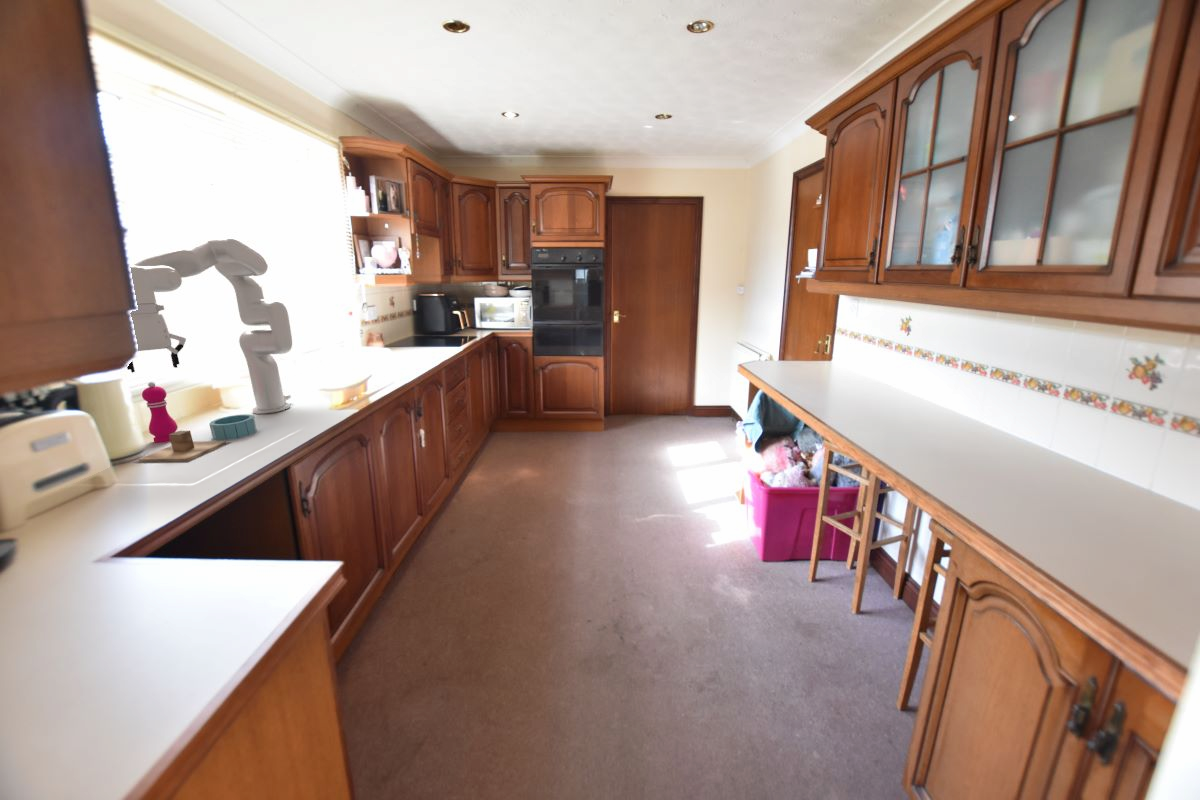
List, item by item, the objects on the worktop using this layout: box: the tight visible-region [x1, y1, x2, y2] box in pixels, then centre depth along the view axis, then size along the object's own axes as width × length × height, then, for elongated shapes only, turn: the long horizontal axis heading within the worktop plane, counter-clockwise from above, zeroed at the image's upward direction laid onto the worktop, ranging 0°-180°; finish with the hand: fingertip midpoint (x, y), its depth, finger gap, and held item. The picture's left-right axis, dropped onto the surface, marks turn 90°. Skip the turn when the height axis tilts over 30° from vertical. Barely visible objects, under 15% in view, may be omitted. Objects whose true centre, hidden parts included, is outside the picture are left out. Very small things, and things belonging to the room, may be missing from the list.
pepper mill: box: [141, 381, 179, 444], centre depth 168 cm, size 7×7×20 cm
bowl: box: [209, 413, 258, 441], centre depth 174 cm, size 12×12×6 cm
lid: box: [137, 430, 227, 462], centre depth 157 cm, size 15×15×6 cm
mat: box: [133, 441, 232, 464], centre depth 158 cm, size 17×17×1 cm
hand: (154, 369), depth 152 cm, fingers open, 9 cm apart
